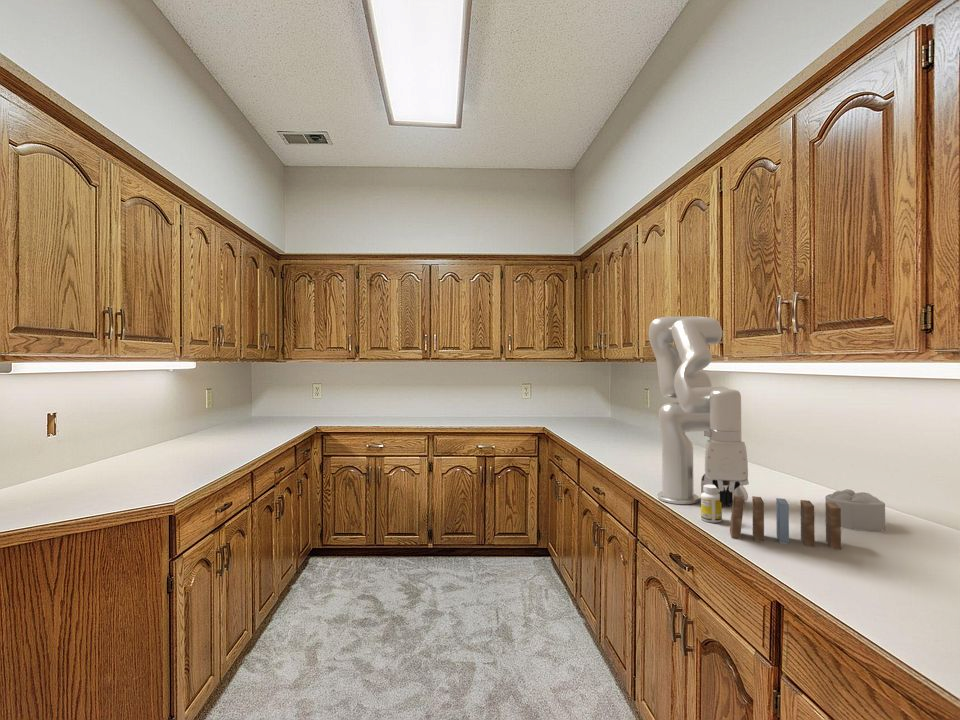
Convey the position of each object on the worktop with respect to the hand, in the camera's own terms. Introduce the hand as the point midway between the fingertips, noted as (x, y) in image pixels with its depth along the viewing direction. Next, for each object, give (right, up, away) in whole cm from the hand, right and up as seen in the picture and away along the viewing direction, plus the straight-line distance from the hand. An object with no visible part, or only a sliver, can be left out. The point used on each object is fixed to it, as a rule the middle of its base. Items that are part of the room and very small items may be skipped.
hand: (726, 505), depth 137 cm
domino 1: (+2, -8, -1) cm, 8 cm away
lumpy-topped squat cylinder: (+38, -7, +7) cm, 40 cm away
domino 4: (+23, -8, -8) cm, 25 cm away
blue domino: (+12, -8, -4) cm, 15 cm away
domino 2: (+7, -8, -2) cm, 11 cm away
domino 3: (+17, -8, -6) cm, 20 cm away
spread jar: (+13, -7, +28) cm, 32 cm away
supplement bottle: (+1, -8, +12) cm, 14 cm away
